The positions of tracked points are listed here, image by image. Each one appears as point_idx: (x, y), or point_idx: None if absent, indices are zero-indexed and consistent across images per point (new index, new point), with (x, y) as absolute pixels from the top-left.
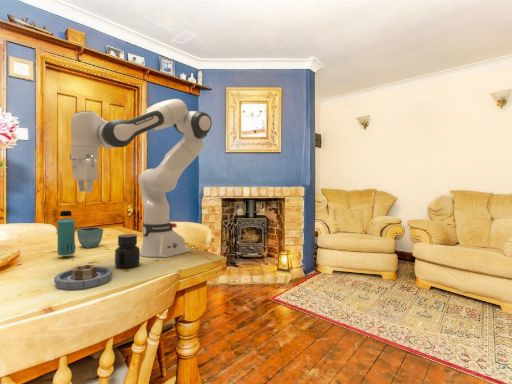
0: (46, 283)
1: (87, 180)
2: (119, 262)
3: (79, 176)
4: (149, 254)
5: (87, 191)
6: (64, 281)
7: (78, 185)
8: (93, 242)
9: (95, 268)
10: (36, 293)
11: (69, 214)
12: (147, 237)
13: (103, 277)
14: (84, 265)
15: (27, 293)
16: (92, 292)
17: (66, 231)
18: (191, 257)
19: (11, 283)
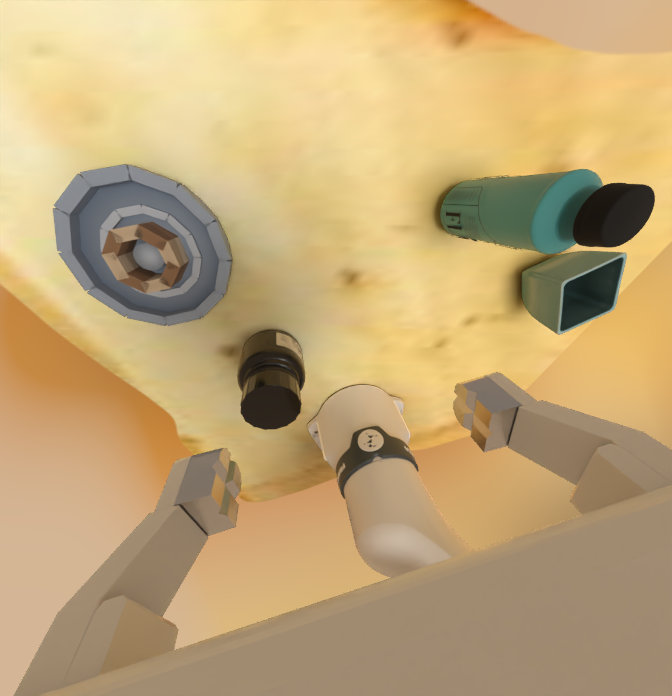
0: (164, 141)
1: (26, 692)
2: (248, 345)
3: (451, 671)
4: (329, 404)
5: (176, 470)
6: (65, 196)
7: (563, 409)
8: (527, 292)
9: (142, 289)
10: (53, 107)
11: (581, 235)
12: (351, 432)
13: (105, 302)
14: (171, 261)
15: (57, 74)
16: (43, 268)
17: (499, 213)
18: (285, 464)
19: (199, 5)
